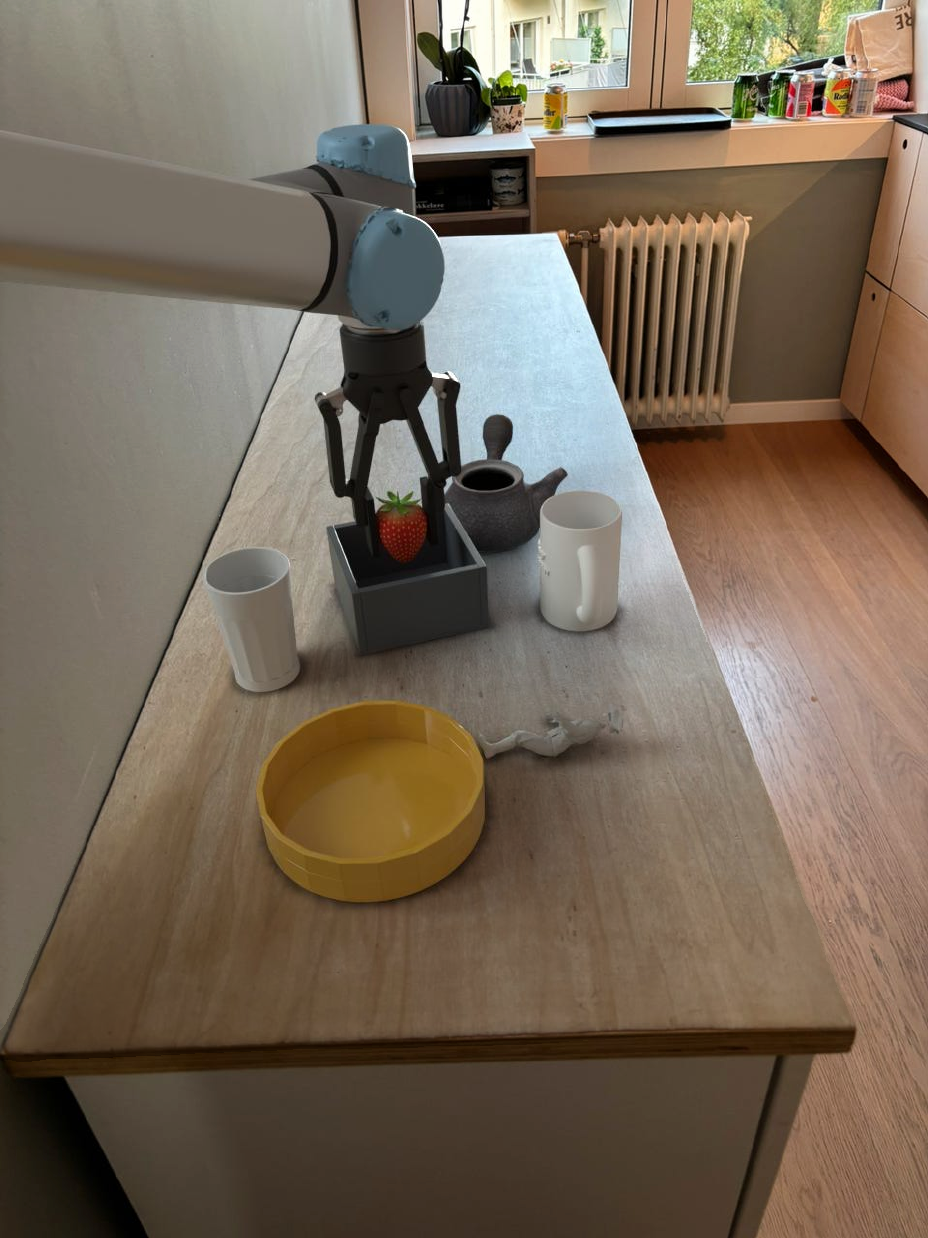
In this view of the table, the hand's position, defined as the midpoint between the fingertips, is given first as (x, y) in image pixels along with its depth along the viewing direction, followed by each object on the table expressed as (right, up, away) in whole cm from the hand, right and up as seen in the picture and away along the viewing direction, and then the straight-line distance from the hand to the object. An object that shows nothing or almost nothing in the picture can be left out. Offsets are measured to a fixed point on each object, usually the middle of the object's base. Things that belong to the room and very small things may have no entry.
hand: (402, 544), depth 100 cm
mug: (+18, -8, +1) cm, 20 cm away
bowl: (-1, -24, -19) cm, 31 cm away
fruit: (0, -2, +1) cm, 2 cm away
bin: (0, -6, +5) cm, 8 cm away
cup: (-13, -13, -3) cm, 19 cm away
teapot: (+11, +5, +19) cm, 22 cm away
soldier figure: (+14, -19, -14) cm, 28 cm away
